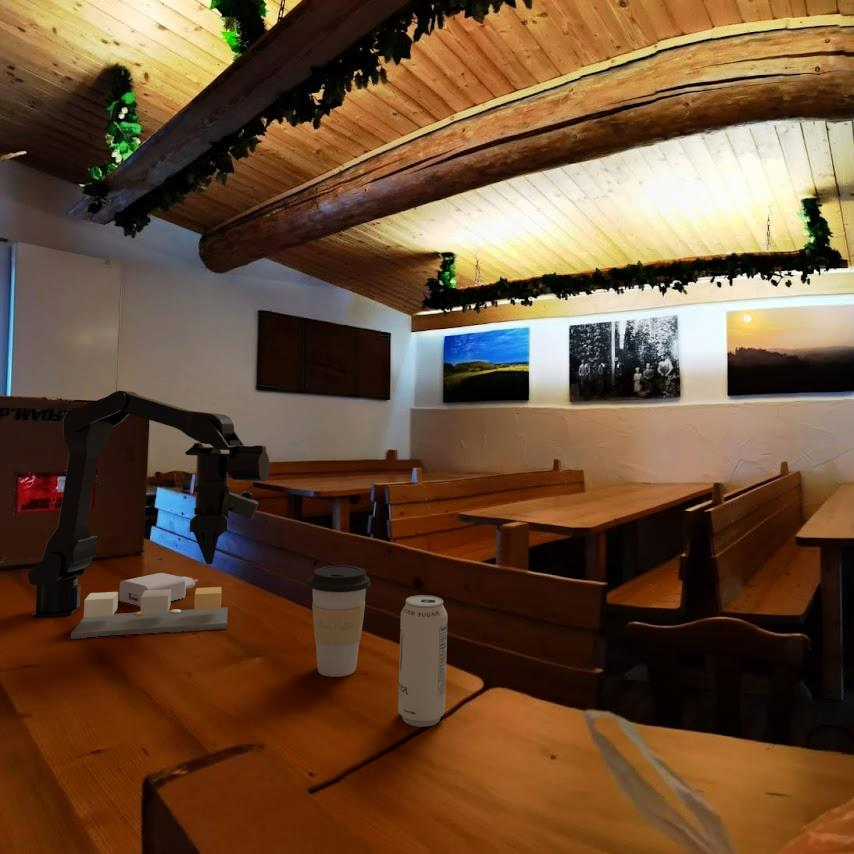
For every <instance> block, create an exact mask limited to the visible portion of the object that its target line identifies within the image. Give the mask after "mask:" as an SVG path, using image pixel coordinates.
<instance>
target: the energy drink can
mask: <svg viewBox="0 0 854 854" xmlns="http://www.w3.org/2000/svg"><path fill="white" fill-rule="evenodd" d="M404 604H405V605H404V607H403V608H402V610H401V611H400V623H399V624H400V630H399V631H400V632H399V636H400V637H399V664H398V667H399V669H398V671H399V672H398V696H397V697H398V698H397V699H398V700H397V702H398V703H397V704H398V705H397V711H398V714H399V715H400V716H401V719H402V721H403V722H404V723H405V724H408V725H410V726H414V727H417V728H420V727H421V728H422V727H424V728H425V727H431V726H434V725H437V724H438V723H439V722H440V721H441V717H442V716H444V714H445V711H446V689H447V688H446V687H447V685H446V682H447V680H446V679H447V649H448V646H447V644H448V641H447V640H448V612H447V610H446V608H445V606H444V600H443V599H442V598H441V597H439V596H435V595H427V594H426V595H425V594H424V595H423V594H420V595H412V596H409V597H407V598H406V599H405V603H404Z"/></svg>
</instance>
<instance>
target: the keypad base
mask: <svg viewBox="0 0 854 854" xmlns="http://www.w3.org/2000/svg"><path fill="white" fill-rule="evenodd" d="M228 611H229V607H221V608H220V609H216V610H199V611H194V608H192V609H179V608H177V609H176V608H175V609H171V610H168V612H164V613H147V614H141V610H140V611H136V612H128V613H125V612H124V613H123V612H122V613H114V614H113V616H96V617H84V616H83V618H82V619H81V620H80V621H79V623H78V624H77V626H75V628H74V629H73V630H72V631H71V633H70V640H78V639H80V638H81V639H88V638H87V637H96V638H98V637H97V636H109V635H123V634H137V633H155V634H159V633H158V632H170V633H183V632H182V631H184V632H195V631H210V630H211V631H212V630H213V629H214V630H226V629H227V628H228V627H227V626H228V616H229V615H228V613H229V612H228ZM156 632H157V633H156Z"/></svg>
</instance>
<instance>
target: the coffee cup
mask: <svg viewBox="0 0 854 854" xmlns="http://www.w3.org/2000/svg"><path fill="white" fill-rule="evenodd" d="M308 581H309V583H308V584H307V585H308V587H309V588H311V589H312V590H311V591H312V603H311V607H312V621H313V636H314V640H315V650H316V663H317V664H316V665H317V672H318V673H319V674H320V675H321V676H326V677H331V678H333V677H334V678H335V677H336V678H337V677H338V678H339V677H340V678H341V677H346V676H351V675H352V674H353V673H355V671H356V669H357V662H358V654H359V647H360V646H359V645H360V641H361V638H362V631H363V623H364V615H365V608H366V593H367V592H366V591H367V588H369V587H370V586H371V582H370V581H371V578H370V577H369V576H367V571H366V570H365V569H364V568H362V567H358V566H353V565H327V566H323V567H318V568H316V569H314V572H313V576H311V577H310V578H309V580H308Z"/></svg>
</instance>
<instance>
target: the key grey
mask: <svg viewBox="0 0 854 854" xmlns="http://www.w3.org/2000/svg"><path fill="white" fill-rule="evenodd" d="M171 603H172V602H171V589H167V590H146V591H144V593H143V595H142V596H141V607H140V611H141V614H147V613H164V612H168V611H170V607H171Z"/></svg>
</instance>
